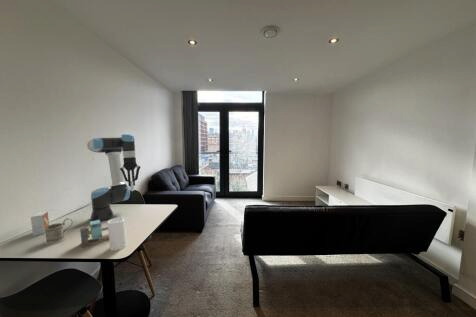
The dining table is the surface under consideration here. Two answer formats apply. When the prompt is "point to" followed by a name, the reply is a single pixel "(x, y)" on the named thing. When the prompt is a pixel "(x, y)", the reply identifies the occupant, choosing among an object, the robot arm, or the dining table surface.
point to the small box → (39, 223)
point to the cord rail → (85, 242)
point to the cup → (117, 233)
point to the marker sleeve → (96, 229)
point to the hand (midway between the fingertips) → (132, 190)
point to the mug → (55, 233)
